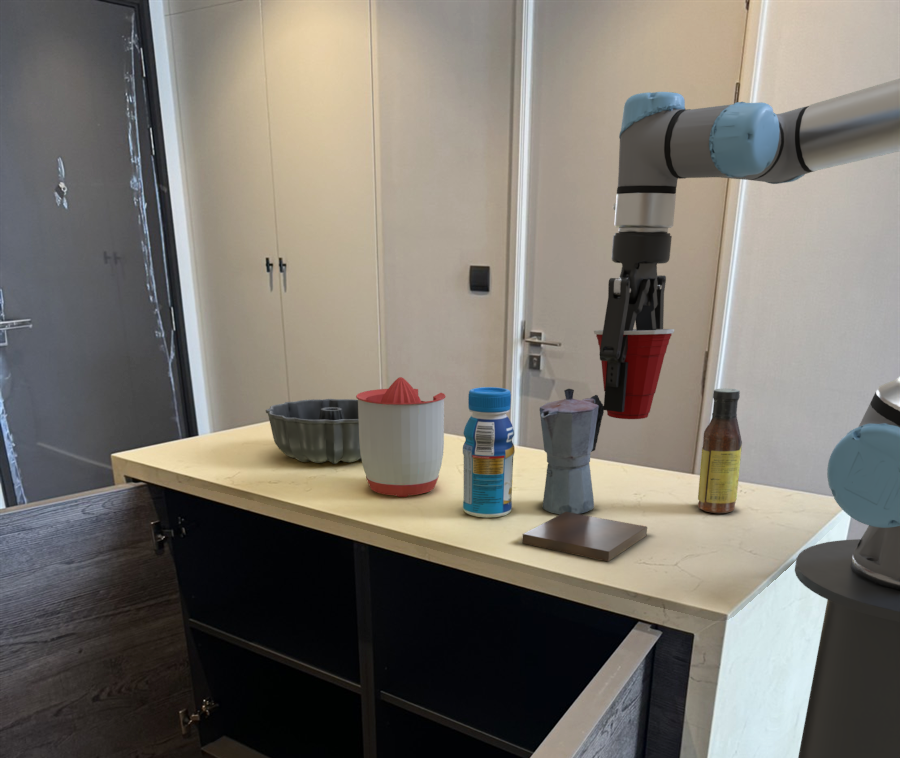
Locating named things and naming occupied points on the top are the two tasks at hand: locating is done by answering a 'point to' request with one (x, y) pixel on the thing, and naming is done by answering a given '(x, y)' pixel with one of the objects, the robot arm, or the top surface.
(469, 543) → the top surface
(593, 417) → the moka pot
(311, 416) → the bundt pan
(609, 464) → the top surface
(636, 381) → the plastic cup
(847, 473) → the robot arm
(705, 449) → the sauce bottle
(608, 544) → the trivet board
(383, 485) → the citrus juicer
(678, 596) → the top surface
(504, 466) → the beverage bottle
